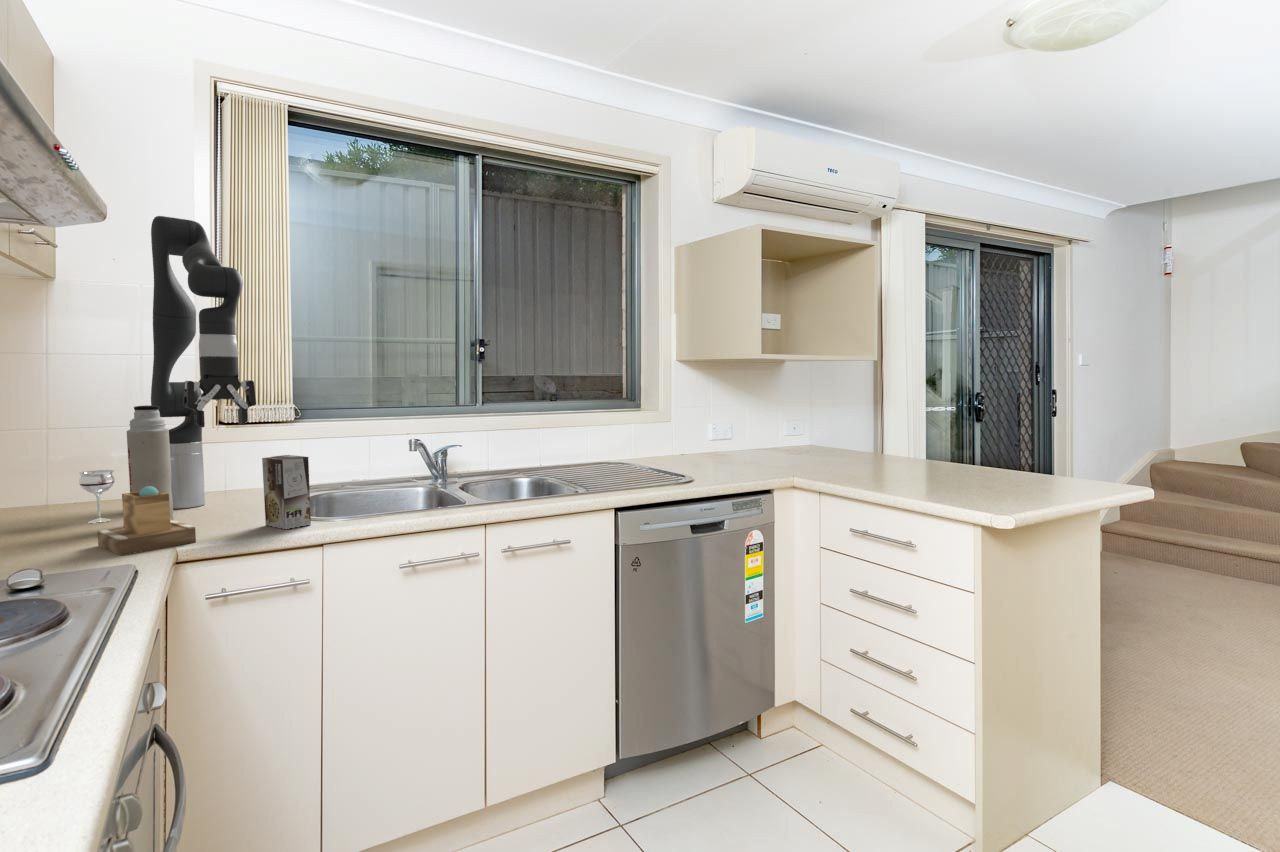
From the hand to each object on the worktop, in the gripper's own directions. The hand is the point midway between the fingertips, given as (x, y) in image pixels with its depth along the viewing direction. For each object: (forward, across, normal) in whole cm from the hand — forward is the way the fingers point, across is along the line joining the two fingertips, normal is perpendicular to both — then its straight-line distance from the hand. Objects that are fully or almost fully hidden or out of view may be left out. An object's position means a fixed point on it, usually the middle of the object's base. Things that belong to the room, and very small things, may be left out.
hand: (221, 426), depth 155 cm
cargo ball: (+14, +17, +6) cm, 22 cm away
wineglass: (+24, +16, -30) cm, 42 cm away
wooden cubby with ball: (+20, +17, +6) cm, 27 cm away
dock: (+23, +17, +6) cm, 29 cm away
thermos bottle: (+24, +10, -16) cm, 30 cm away
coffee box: (+23, -9, +11) cm, 27 cm away
